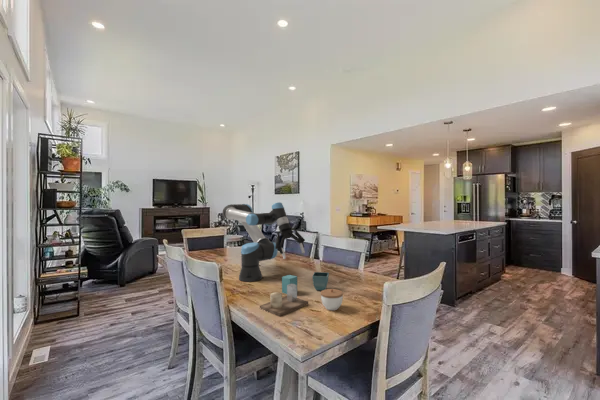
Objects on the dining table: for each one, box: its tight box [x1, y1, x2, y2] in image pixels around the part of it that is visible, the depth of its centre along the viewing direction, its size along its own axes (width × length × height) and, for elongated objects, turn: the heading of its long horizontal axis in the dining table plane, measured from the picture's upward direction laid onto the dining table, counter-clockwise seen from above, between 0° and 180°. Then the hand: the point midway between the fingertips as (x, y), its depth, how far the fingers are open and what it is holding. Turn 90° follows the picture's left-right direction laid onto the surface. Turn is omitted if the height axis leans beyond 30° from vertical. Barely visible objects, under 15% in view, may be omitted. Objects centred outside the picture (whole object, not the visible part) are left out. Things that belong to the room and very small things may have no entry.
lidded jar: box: [320, 288, 344, 311], centre depth 143 cm, size 11×11×9 cm
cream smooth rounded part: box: [269, 292, 283, 309], centre depth 141 cm, size 6×6×8 cm
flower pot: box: [311, 271, 330, 291], centre depth 172 cm, size 9×9×9 cm
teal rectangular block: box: [281, 274, 298, 295], centre depth 167 cm, size 6×6×9 cm
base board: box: [259, 295, 309, 317], centre depth 146 cm, size 14×20×2 cm
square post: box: [286, 284, 298, 302], centre depth 150 cm, size 4×4×10 cm
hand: (294, 255), depth 183 cm, fingers open, 13 cm apart
